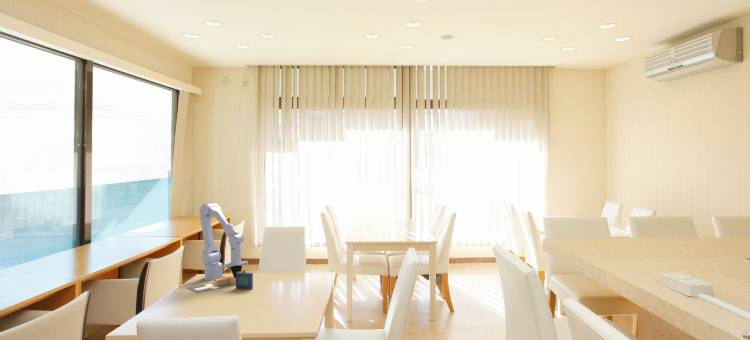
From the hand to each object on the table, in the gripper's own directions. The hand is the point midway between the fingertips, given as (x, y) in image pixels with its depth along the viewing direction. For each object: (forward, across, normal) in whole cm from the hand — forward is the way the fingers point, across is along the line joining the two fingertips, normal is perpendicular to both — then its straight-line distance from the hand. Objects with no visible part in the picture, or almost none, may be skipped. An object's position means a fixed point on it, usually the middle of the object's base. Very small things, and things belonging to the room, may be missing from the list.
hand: (235, 279), depth 260 cm
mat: (+2, -11, 0) cm, 11 cm away
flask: (+2, -4, -16) cm, 17 cm away
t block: (+1, -7, 0) cm, 7 cm away
